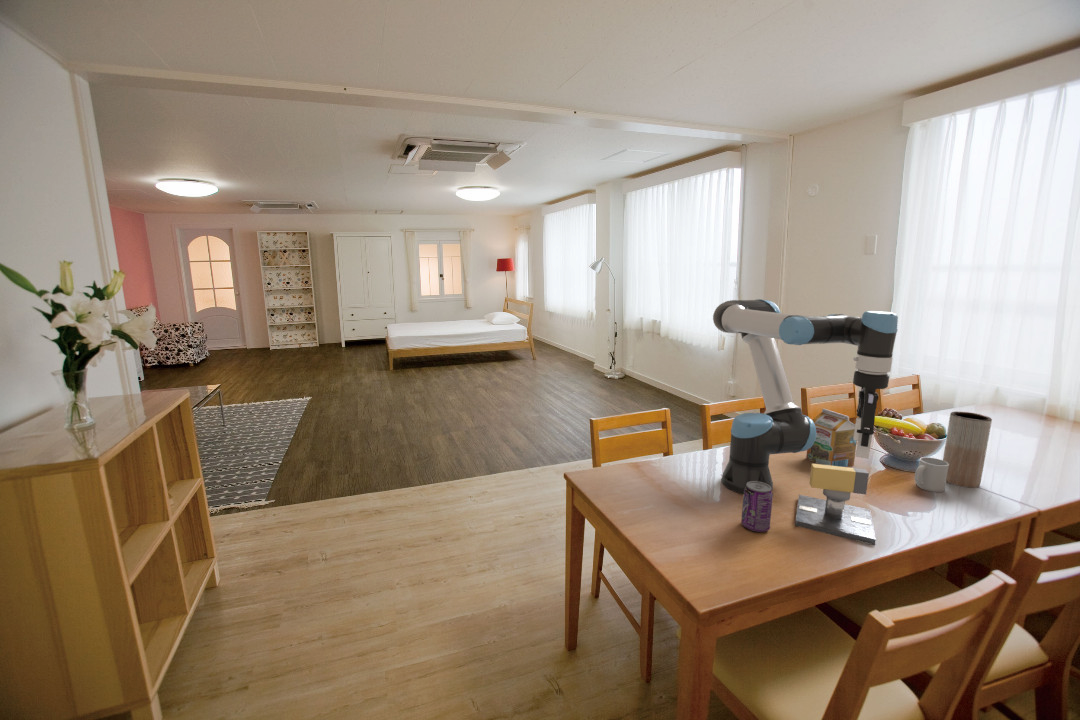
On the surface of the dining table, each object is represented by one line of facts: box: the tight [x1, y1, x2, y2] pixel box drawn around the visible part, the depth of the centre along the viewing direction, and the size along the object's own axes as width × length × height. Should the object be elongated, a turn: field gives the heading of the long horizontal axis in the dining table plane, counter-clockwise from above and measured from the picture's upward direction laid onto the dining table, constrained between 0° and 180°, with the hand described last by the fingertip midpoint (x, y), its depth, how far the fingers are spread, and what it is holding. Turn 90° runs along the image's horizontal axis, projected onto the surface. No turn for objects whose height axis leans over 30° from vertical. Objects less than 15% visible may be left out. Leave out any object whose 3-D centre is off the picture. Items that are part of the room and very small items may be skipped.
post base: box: [794, 494, 877, 546], centre depth 131 cm, size 18×18×7 cm
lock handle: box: [809, 463, 870, 502], centre depth 130 cm, size 6×13×8 cm, turn 72°
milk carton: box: [805, 408, 858, 468], centre depth 171 cm, size 10×11×19 cm
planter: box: [942, 410, 993, 488], centre depth 154 cm, size 10×10×23 cm
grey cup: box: [914, 456, 949, 493], centre depth 151 cm, size 7×10×9 cm
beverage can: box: [740, 481, 774, 533], centre depth 127 cm, size 7×7×12 cm
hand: (860, 448), depth 126 cm, fingers open, 13 cm apart
